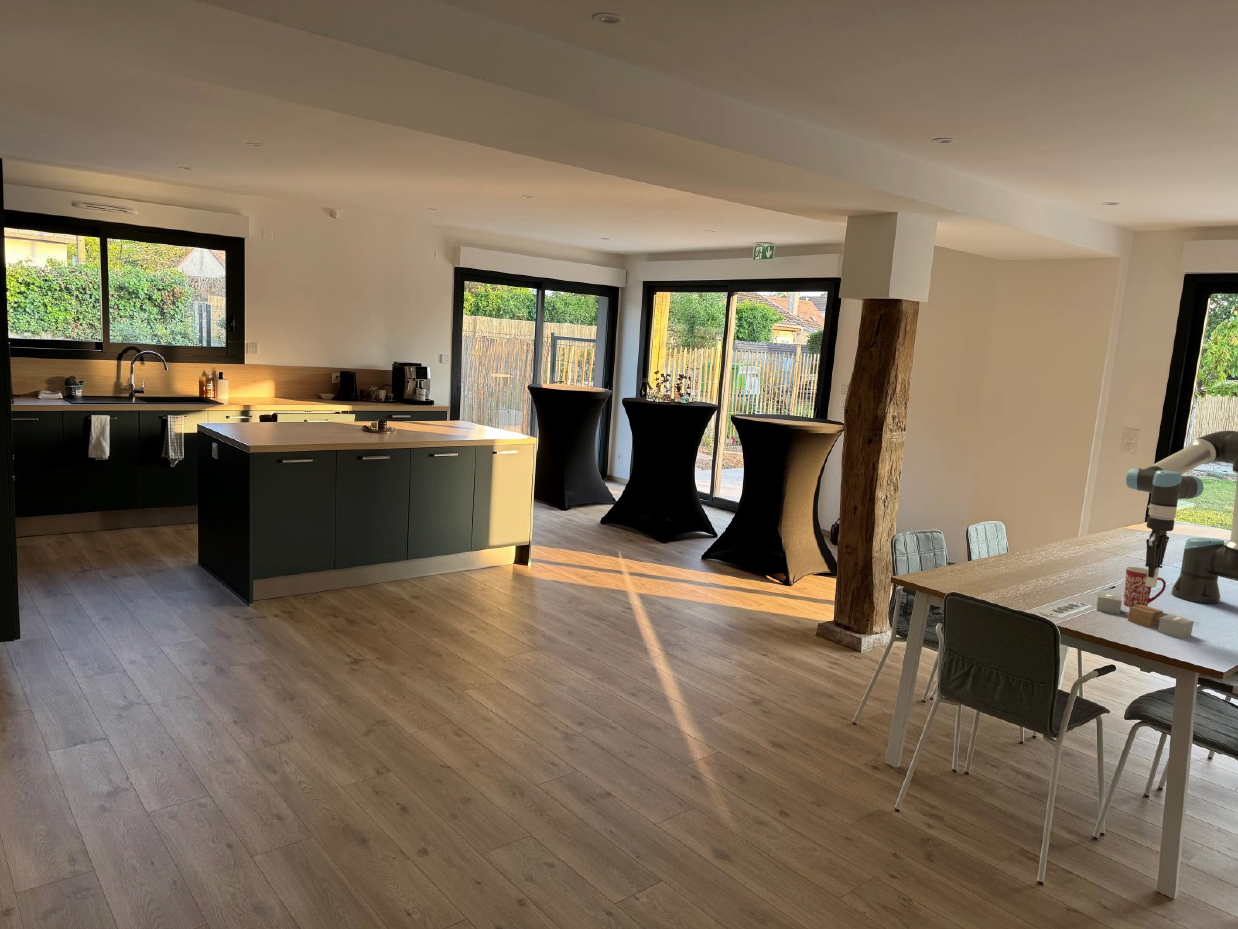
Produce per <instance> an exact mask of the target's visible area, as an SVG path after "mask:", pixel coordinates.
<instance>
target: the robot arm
mask: <svg viewBox="0 0 1238 929" xmlns="http://www.w3.org/2000/svg"><path fill="white" fill-rule="evenodd" d="M1212 463H1224V464H1225V463H1227V464H1232V473H1234V474H1236V476H1237V477H1236V483H1235V484H1236V486H1235V494H1234V503H1233V512H1232V524H1231V532H1230V533H1231V534H1230V539H1229V540H1228V541H1226V542H1225V540H1224V539H1221V538H1212V537H1190V538H1188V539H1186V541H1185V545H1184V548H1183V555H1182V561H1181V562H1182V563H1181V567H1180V568H1181V569H1180V573H1179V576H1178V578H1177V579H1176V581H1175V583H1174V584H1173V585H1172V588H1171V595H1172V596H1174V597H1176V598H1179V599H1182V600H1186V601H1189V602H1195V603H1201V604H1210V605H1211V604H1212V605H1217V604H1219V603H1220V602H1221V592H1220V588H1219V583H1218V580H1219V579H1218V578H1219V577H1221V578H1224V579H1229V580H1233V581H1236V582H1238V430H1237V431H1236V430H1220V431H1216V432H1212V433H1207V434H1205V435H1203V436H1200V437H1198V438H1196V439H1194V440H1191V441H1190V442H1189V444H1188V446H1186V447H1184V448H1183V449H1181V450H1180V449H1179V451H1177V452H1175V453H1173V454H1171V455H1169V456H1167V457H1164V458H1163V459H1162V460H1159V461H1157V462H1156V463H1154V464H1151V465H1150V466H1147V467H1146V468H1141V467H1133V468H1130V469H1129V470H1128V471H1127V473H1126V475H1125V484H1126V486H1127V488H1129V489H1131V490H1136V491H1139V492H1140V491H1141V492H1145V493H1146V492H1147V493H1151V494H1150V495H1151V496H1150V501H1149V504H1148V505H1147V508H1148V515H1149V516H1147V519H1146V520H1147V521H1146V524H1145V525H1146V526H1145V527H1147V528H1148V529H1151V532H1150V534H1149V537H1148V538H1147V539H1146V540H1145V541H1146V553H1145V554H1146V555H1145V565H1144V567H1146V568H1147V569H1148V571H1147V578H1146V584H1145V586H1149V587H1151V588H1156V587H1157V584H1158V580H1157V577H1159V576H1158V575H1159V572H1160V571H1159V569H1163V566H1162V565H1163V563H1164V558H1165V554H1166V550H1167V546H1168V543H1169V540H1170V536H1168V535H1167V534H1168V532H1172V531H1174V527H1175V520H1174V519H1175V518H1176V517H1177V516H1176V515H1177V511H1178V510H1177V509H1178V501H1179V500H1184V499H1185V500H1190V499H1194V498H1195V499H1196V498H1197V497H1200V496H1201V495H1202V494H1203V492H1204V483H1203V480H1201V479H1200V478H1199V477H1198V476H1194V475H1184V474H1186V473H1187V472H1191V470H1193V469H1195V468H1197V467H1199V466H1201V465H1209V464H1212Z"/></svg>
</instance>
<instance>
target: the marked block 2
mask: <svg viewBox="0 0 1238 929" xmlns="http://www.w3.org/2000/svg"><path fill="white" fill-rule="evenodd" d="M1193 626H1194V620H1191V619H1188V618H1183V617H1180V616H1176V615H1172V614H1167V615H1164V616H1163V615H1162V617H1160V622H1159V625H1158V630H1157V633H1161V634H1164V635H1168V636H1171V637H1174V638H1177V639H1178V638H1179V639H1185V638H1188V637H1190V636H1192V633H1193Z"/></svg>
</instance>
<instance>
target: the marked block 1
mask: <svg viewBox="0 0 1238 929" xmlns="http://www.w3.org/2000/svg"><path fill="white" fill-rule="evenodd" d="M1122 602H1123V600H1122V595H1117V594H1111V593H1107V592H1100V591H1098V592H1097V600H1096V606H1097V608H1096V611H1099V610H1100V612H1105V613H1111V614H1115V613H1117V614H1116V615H1120V614H1121V608H1122ZM1096 606H1095V607H1096Z"/></svg>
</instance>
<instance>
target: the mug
mask: <svg viewBox="0 0 1238 929" xmlns="http://www.w3.org/2000/svg"><path fill="white" fill-rule="evenodd" d="M1125 570H1126V571H1125V580H1124V581H1125V583H1124V593H1123V594H1124V595H1123V605H1124V606H1125V607H1128V608H1130V607H1132V606H1137V605H1144V606H1148V607H1149V604H1150V603H1152V602H1153V601H1155V600H1156V599H1158V598H1159V596H1161V595H1162V594H1163V593H1164V591H1165V590H1166V586H1167V583H1166V581H1165V579H1164V578H1162V577H1159V576H1158V577H1157V581H1161V582H1162V588H1161V589H1160V591H1159V592H1158V593H1157V594H1155V595H1154V596H1152V597H1150V596H1151V592H1152V587H1149V586H1145V584H1146V578H1147V571H1148V568H1147V567H1146V568H1144V567H1139V566H1126V567H1125Z"/></svg>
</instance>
